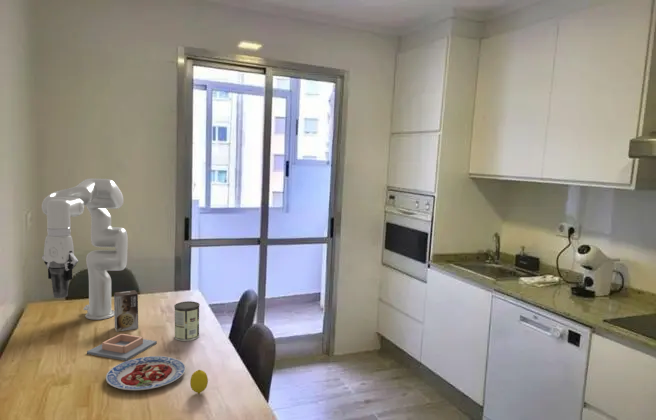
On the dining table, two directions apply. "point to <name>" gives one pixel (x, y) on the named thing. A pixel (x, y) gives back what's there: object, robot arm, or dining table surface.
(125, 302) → the coffee box
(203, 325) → the dining table surface
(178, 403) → the dining table surface
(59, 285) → the beverage cup
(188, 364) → the dining table surface
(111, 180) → the robot arm
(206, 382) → the lemon
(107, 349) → the collar stand
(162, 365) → the ceramic plate
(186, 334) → the coffee can
